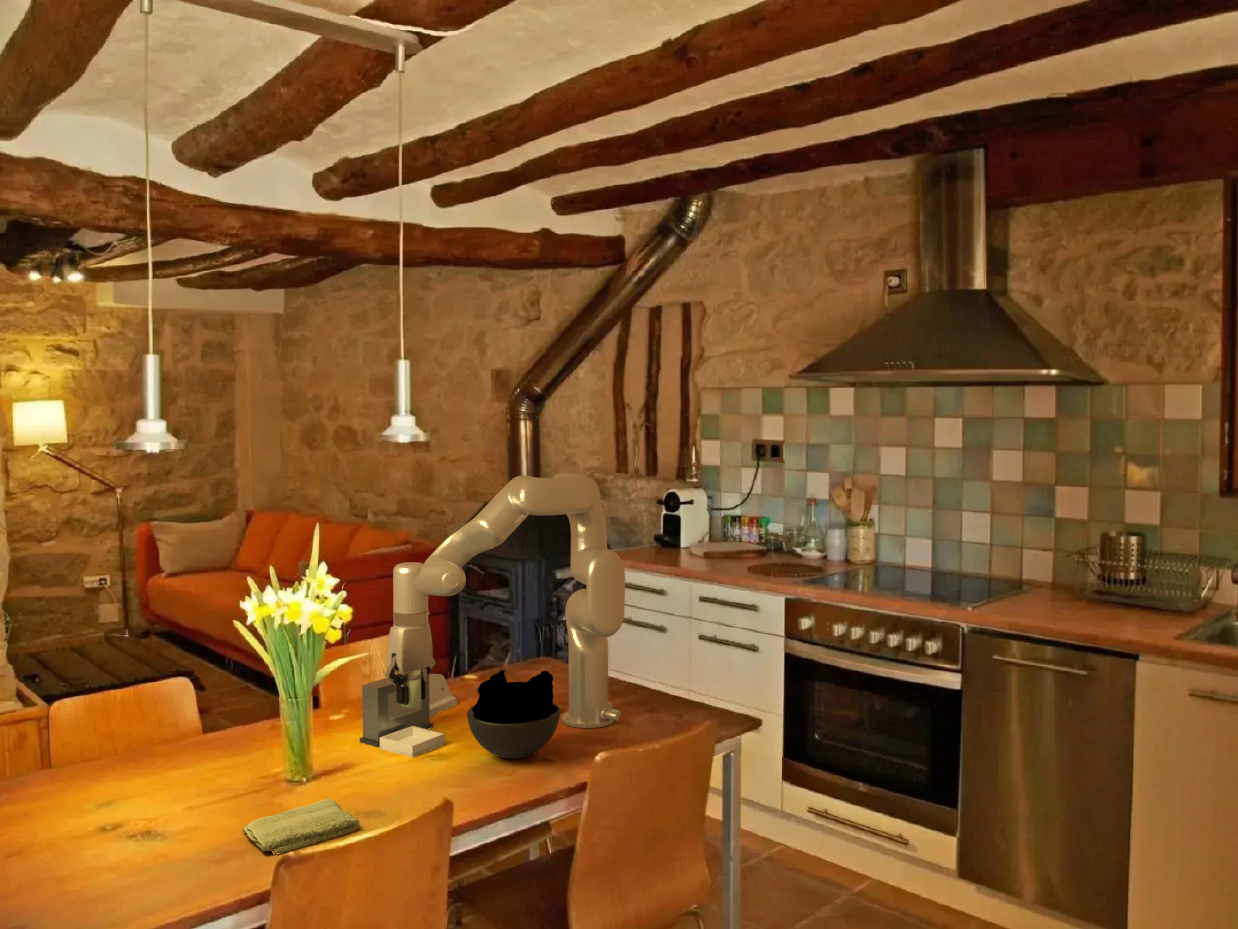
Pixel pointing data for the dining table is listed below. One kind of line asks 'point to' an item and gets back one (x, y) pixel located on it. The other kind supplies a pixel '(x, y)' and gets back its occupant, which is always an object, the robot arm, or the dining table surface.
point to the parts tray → (412, 741)
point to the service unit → (389, 711)
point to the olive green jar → (414, 688)
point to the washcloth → (301, 826)
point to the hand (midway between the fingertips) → (411, 700)
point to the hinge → (439, 695)
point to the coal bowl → (514, 715)
